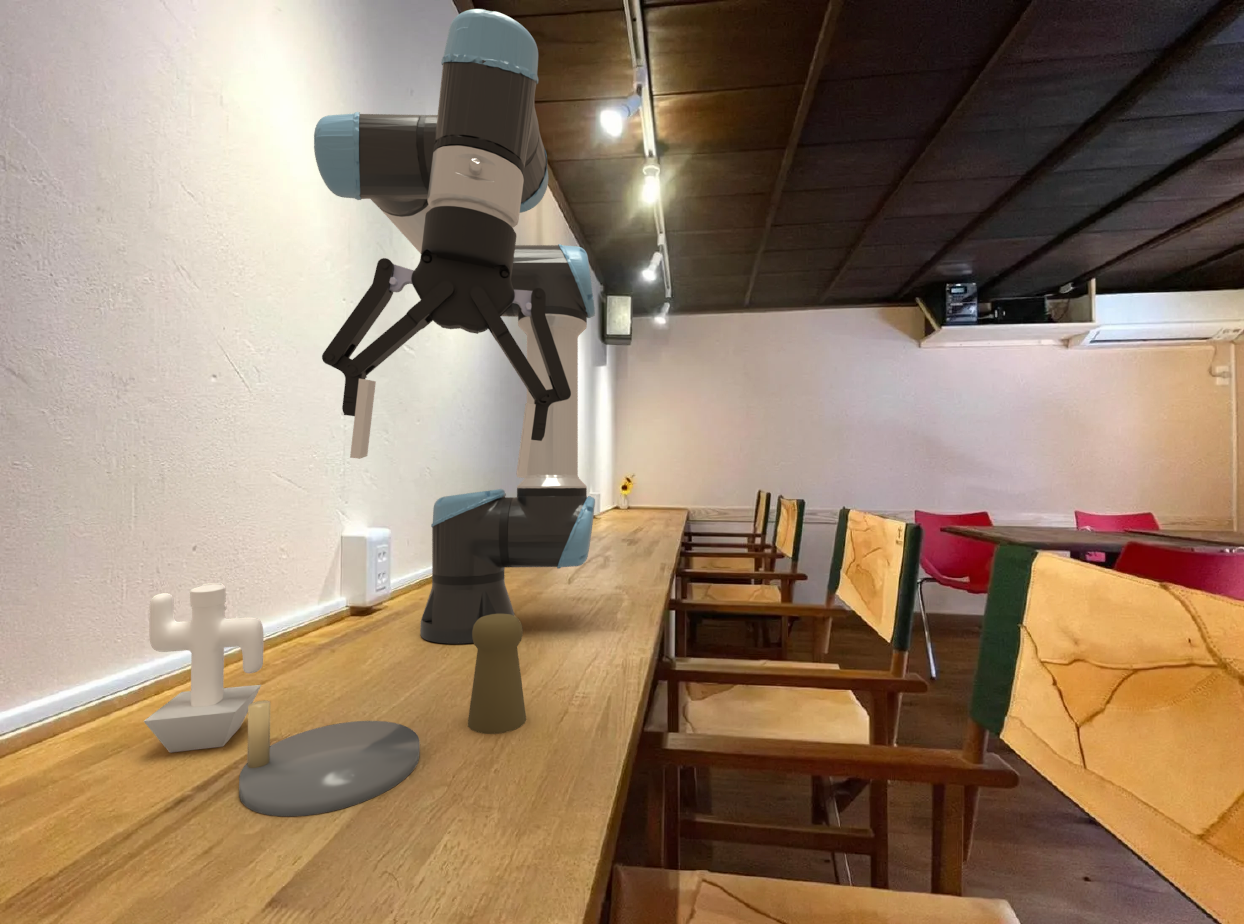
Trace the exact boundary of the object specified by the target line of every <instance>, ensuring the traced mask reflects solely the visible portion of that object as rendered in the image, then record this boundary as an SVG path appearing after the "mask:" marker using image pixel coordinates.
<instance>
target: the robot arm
mask: <svg viewBox="0 0 1244 924" xmlns="http://www.w3.org/2000/svg"><path fill="white" fill-rule="evenodd" d="M440 62H441V66H442V70H441V82H440V90H439V99H438V108H437V114H395V113H393V114H392V113H391V114H386V113H385V114H384V113H380V114H379V113H378V114H377V113H375V114H374V113H361V112H359V111H356V112H354V113H344V114H342V113H341V114H330V115H326V116H323V117H321V118H320V119H319V120H318V121H317V123H316V125H315V128H314V134H313V150H314V156H315V157H314V158H315V162H316V166H317V169H318V172H319V174H320V176H321V178H322V180H323V183H324V184H325V186H326V187H327V189H328V190H329V191H330V192H331V193H332V194H333V195H335V196H336V197H339V198H346V199H355V200H357V201H362V200H370V201H371V202H372V203H374V204H375V205H376V207H378V208H379V210H381V212H382V213H383V214H384V215H385V216H386V217H387V219H388V220H389V221H390V222H391V223H392V224H394V226H395V227H396V228H397V229H398V231H400V232H401V234H402V235H403V236H404V237H405V239H407V240H408V241H409V243H410V244H411V245H412V246H413V248H415V249H416V250H417V252H418V253H419V254H420V258H419V262H418V264H417V266H416V268H415V269H411V268H408V267H404V266H401V265H397V264H394V263H393V262H392V261H391V260H390V258H385V257H383V258H380V259H379V260H378V261H377V263H376V268H375V271H374V272H375V273H374V275H373V281H372V284H371V285H370V286H369V288H368V289H367V291H366V292H365V293H364V295H363V296H362V298H361V299H360V300H359V302H358V303H357V305H356V306H355V308H354V309H353V310H352V312H351V313H350V315H349V316H348V318H347V319H346V320H345V322H344V323H343V324H342V326H341V328H340V329H339V330H338V332H337V333H336V334H335V336H334V337H333V338H332V340H331V341H330V343H329V344H328V346H327V347H326V349H325V350H324V351H323V353H322V354H321V359H322V361H323V363H324V364H325V365H328V366H329V367H332V368H334V369H337V370H338V371H340V372H341V373H342V374H343V375H344V379H345V380H344V389H343V398H342V407H341V410H342V413H343V415H344V416H350V417H354V421H353V428H352V429H353V430H352V438H351V439H352V440H351V444H350V445H351V446H350V454H349V458H351V459H359V460H360V459H363V458H366V457H368V453H369V443H370V436H371V429H372V428H371V425H372V417H373V411H374V410H373V409H374V399H375V394H376V393H375V392H376V385H377V383H376V382H377V381H375V380H371V379H367V378H368V375H369V374H370V373H371V372H373V371H374V370H375V369H376V368H378V367H379V366H380V365H381V364H383V362H385V360H387V359H388V358H389V357H390V356H392V354H394V353H395V352H396V351H397V350H399V349H400V348H401V347H402V346H403V345H404V344H406V343H407V342H408V341H409V340H410V339H411V338H412V337H414V336H415V335H416V334H418V332H420V331H421V330H424V329H425V328H426V327H428V325H429V324H432V322H434V324H436V325H438V326H439V327H441V328H443V329H447V330H459V329H461V330H463V331H465V332H468V333H471V334H475V335H476V334H477V335H478V334H480V333H484V332H486V331H489V333H491V335H492V336H493V339H494V340H495V341H496V343H497V344H498V346H499V347H500V349H501V351H502V352H503V353H504V355H505V356H506V358H507V360H508V361H509V363H510V364H511V365H512V368H513V369H514V371H515V373H517V376H518V377H519V379H520V380H521V381H522V383H523V385H524V387H525V388H526V402H525V404H524V405H525V407H524V411H523V421H522V428H521V429H522V430H521V435H520V436H521V437H520V441H519V442H520V445H519V451H518V458H517V467H516V477H517V478H519V479H520V478H522V481H520V483H519V484H518V485H517V486H516V497H515V496H514V497H507V493H506V491H505V490H504V489H503V488H499V489H498V488H497V489H491V490H482V491H475V492H469V493H468V492H467V493H459V494H451V495H446V496H441V497H439V498H438V499H436V501H435V502H434V504H433V508H432V509H433V510H432V511H433V512H432V522H431V529H432V530H431V531H432V532H431V533H432V534H431V535H432V536H431V537H432V538H431V541H432V543H431V545H432V546H431V547H432V548H431V549H432V550H431V551H432V554H431V556H432V558H431V559H432V561H431V564H432V565H431V566H432V567H431V568H432V569H431V570H432V573H431V574H432V576H431V589H430V592H429V595H428V598H427V602H426V604H425V607H424V610H423V613H422V617H421V620H420V628H419V629H420V633H419V634H420V636H421V639H424V640H425V641H427V642H428V641H429V642H432V643H438V644H451V645H452V644H458V645H459V644H474V642H473V637H472V630H473V626H474V624H475V622H476V621H477V620H478V619H479V618H481V617H483V616H487V615H491V614H510V615H514V616H515V612H514V608H513V605H512V602H511V598H510V595H509V593H508V590H507V586H506V583H505V580H506V579H505V568H556V569H561V568H569V567H571V568H572V567H573V568H574V567H579V566H582V565H584V564H585V563H586V562H587V560H588V557H589V552H590V545H591V539H592V538H591V537H592V531H593V524H594V517H595V516H594V515H595V506H596V499H595V497H592V496H590V495H588V493H587V492H588V490H587V489H588V488H587V485H586V484H585V483H584V482H583V481H582V480H581V479H580V477H579V475H578V474H579V473H578V472H579V469H578V468H579V465H578V463H579V459H578V458H579V456H578V455H579V454H578V452H579V446H578V445H579V441H578V438H579V437H578V436H579V429H578V428H579V427H578V426H579V425H578V423H579V422H578V421H579V404H578V402H579V401H578V400H579V397H578V396H579V395H578V394H579V392H578V391H579V388H578V387H579V385H578V383H579V381H578V378H579V373H578V371H579V367H578V365H579V363H578V360H579V358H578V357H579V356H578V355H579V354H578V353H579V350H578V349H579V347H578V346H579V343H578V342H579V340H578V339H579V336H580V335H581V334H582V333H584V331H585V330H586V329H587V327H588V324H587V323H588V322H587V319H591V318H592V317H595V316H596V310H595V309H596V308H595V302H594V301H595V300H594V295H593V285H592V284H593V283H592V278H591V270H590V263H589V256H588V253H587V251H586V250H585V249H584V248H583V247H580V246H577V245H562V244H561V243H559V244H557V245H556V244H554V245H553V244H548V245H546V244H545V245H544V244H539V245H538V244H537V245H536V244H535V245H534V244H533V245H531V244H529V245H528V244H526V245H525V244H519V245H517V244H516V242H517V233H516V231H515V230H514V227H517V226H518V224H519V220H520V214H521V213H525V212H528V211H529V210H533V208H535V207H536V206H537V205H539V203H540V202H541V201H542V200H543V198H544V196H545V194H546V191H547V189H548V186H549V185H548V184H549V172H548V171H549V170H548V155H547V151H546V149H545V147H544V143H543V139H542V137H541V136H542V135H541V133H540V125H539V121H538V120H539V119H538V117H537V111H536V108H535V107H536V106H535V94H536V88H537V85H538V84H539V81H540V80H539V77H538V68H539V67H538V66H539V50H538V46H537V43H536V40H535V39H534V37H533V36H532V35H531V33H530V32H529V31H528V29H527V28H525V27H524V26H523V24H521V23H519V22H518V21H517V20H515V19H513V18H512V17H510V16H508V15H506V14H504V13H501V12H499V11H496V10H495V11H494V10H493V11H492V10H486V9H483V8H473V9H468V10H464V11H462V12H461V13H459V14H458V15H456V16H455V17H454V18H453V20H452V21H451V23H450V26H449V28H448V33H447V39H446V42H445V48H444V53H443V56H442V58H441V61H440ZM407 285H412V287H413V288H414V291H415V292H416V293H417V296H418V297H419V299H420V300H419V301H418V302H417V303H416V304H414V305H413V306H412V307H410V308H409V309H408V311H407V312H406V313H405V314H404V316H402V317H401V318H400V319H399V320H398V321H396V322H395V323H394V324H393V325H392V326H390V327H389V328H388V329H387V330H385V332H383V333H382V334H381V335H380V336H378V337H377V338H376V339H375V340H373V342H371V343H370V344H369V345H367V346H366V347H365V348H364V349H363V350H362V351H361V352H360V353H357V355H356V356H355V357H353V358H351V356H352V355H353V353H354V352H355V350H356V349H357V348H358V346H359V345H360V344H361V342H362V340H363V339H364V338H365V336H366V335H367V333H368V332H369V331H370V330H371V328H372V327H373V325H374V324H375V323H376V321H377V319H378V318H379V316H380V315H381V313H382V312H383V311H384V310H385V308H386V307H387V306H388V304H389V302H390V301H391V299H392V297H393V295H394V293H400V292H402V291H403V289H404V287H406V286H407ZM502 317H508V318H509V317H512V318H513V317H515V318H516V317H517V325H518V327H519V328H520V330H522V332H524V334H526V355H525V354H524V352H523V351H522V349H521V348H520V346H519V345H518V343H517V342H516V340H515V338H514V336H513V335H512V333H511V331H510V330H509V328H508V327H507V324H506V323H505V322H504V320H503V319H502Z"/></svg>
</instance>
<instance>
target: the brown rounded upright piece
mask: <svg viewBox="0 0 1244 924" xmlns="http://www.w3.org/2000/svg"><path fill="white" fill-rule="evenodd" d="M472 637H473V642H474V643H473V645H474V646H475V648H476V649H477V653H476V658H475V659H476V660H475V667H474V674H473V681H472V682H473V683H472V689H471V697H470V703H469V712H468V718H467V727H468V728H469V730H470V731H473V732H475V733H477V734H478V733H479V734H484V735H486V734H487V735H495V734H505V733H508V732H512V731H515V730H517V729H519V728H521V727H522V726H524V724H525V723H526V722H527V713H526V705H525V697H524V691H523V682H522V676H521V667H520V659H519V652H518V651H519V650H518V646H519V645H520V643H521V641H522V637H523V625H522V621H521V620H520V619H519V617H517V616H514V615H510V614H491V615H487V616H483V617H481V618H479V619H478V620H477V621H476V622H475V624H474V626H473V630H472Z"/></svg>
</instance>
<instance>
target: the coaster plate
mask: <svg viewBox="0 0 1244 924" xmlns="http://www.w3.org/2000/svg"><path fill="white" fill-rule="evenodd" d="M420 743H421V742H420V737H419V734H417V732H415V730H413V729H412V728H410V727H409V726H406V725H404V724H402V723H396V722H391V721H385V720H383V721H382V720H355V721H347V722H339V723H334V724H330V725H325V726H324V725H323V726H320V727H316V728H311V729H309V730H305V731H303V732H298V733H296V734H294V735H291V736H288V737H285V738H284V739H282V740H278V741H277V742H275V743H272V744H271V700H259V701H253V703H251V704H250V705H249V706H248V713H247V762H246V763H245V765H244V766H243V767H242V769H241V771H240V774H239V778H238V780H239V784H238V786H239V787H238V791H239V792H238V795H239V796H238V797H239V799H240V802H241V803H242V804H243V806H245V807H246V808H247V809H249V810H251V811H254V812H256V813H258V814H261V815H262V814H263V815H267V816H274V817H302V816H303V817H304V816H312V815H313V816H314V815H319V814H325V813H329V812H335V811H339V810H341V809H346V808H348V807H352V806H355V805H358V804H362V803H364V802H366V801H368V800H371V799H373V798H376V797H378V796H380V795H382V794H384V793H386V792H387V791H389V790H392V789H393V788H395V787H396V786H398V784H400V783H402V782H403V781H404V780H406V778H407V777H409V776H410V775H411V774H412V772H413V771H414V770H415V769H416V767H417V765H418V763H419V761H420Z"/></svg>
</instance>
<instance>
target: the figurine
mask: <svg viewBox="0 0 1244 924" xmlns="http://www.w3.org/2000/svg"><path fill="white" fill-rule="evenodd" d="M226 590H227V587H226V586H225V584H224V583H222V582H211V583H202V584H201V586H196V587H193V588H191V589H190V590H189V596H190V597H189V598H190V599H189V601H190V603H189V604H190V607H191V620H183V621H177V620H176V618H175V613H174V612H175V611H174V610H175V609H174V604H175V603H174V596H173V595H172V594H171V593H167V592H164V593H162V592H161V593H158V594H155V595H154V596H152V598H151V599H150V602H149V629H148V630H149V633H148V635H149V643H150V645H151V648H152V649H153V650H155V651H156V652H161V653H167V652H180V651H181V652H182V651H189V652H190V653H191V660H190V661H191V662H190V663H191V665H190V666H191V670H190V690H188V691H181V692H179V693H178V694H177V695H175V696H174V697H173V698H171V700H169V701H168V702H166V703H165V704H163V706H161V707H160V708H158V709H157V710H155V712H153V713H152V714H150V716H148V717H147V718H146V719H145V720H143V723H144V724H145V725H146V726H147V727H148V729H149V730H150V731H151V732H152V734H153V735H154V736H155V737H156V738H157V740H159V742H160V744H162V745H163V747H164V748H165V749H166V750H167V751H168V752H169V753H177V752H186V751H193V750H194V751H195V750H203V749H212V748H223V747H224V746H225V745H226V744H227V743H228V742H229V741H230V739H231V738H232V737H233V736H234V735H235V734H236V732H238V730H239V729H240V728H241V726H242V724H243V723H244V721H245V718H246V716H248V706H249V705H250V704H251V703H254V702H255V699H256V697H257V696H258V695H257V694H258V693H259V691H260V689H261V687H262V684H257V685H255V684H254V685H243V686H233V687H224V674H225V673H224V672H225V670H224V667H225V665H224V663H225V648H234V647H235V648H236V647H238V648H240V649H241V653H242V670H243V672H244V673H245V674H253V673H256V672H259V671H260V670H261V669H262V667H263V664H264V627H263V623H262V621H261V620H260V619H259V618H258V617H253V616H251V617H236V618H235V617H233V618H226V615H225V611H226V610H227V609H228V607H227V604H226V602H227V593H226Z"/></svg>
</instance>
